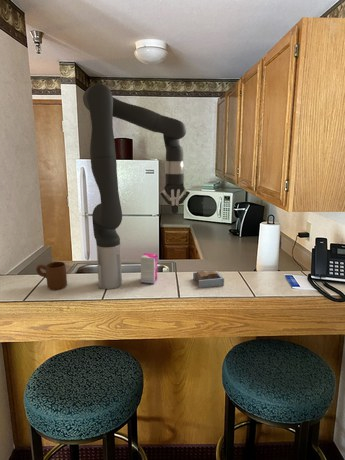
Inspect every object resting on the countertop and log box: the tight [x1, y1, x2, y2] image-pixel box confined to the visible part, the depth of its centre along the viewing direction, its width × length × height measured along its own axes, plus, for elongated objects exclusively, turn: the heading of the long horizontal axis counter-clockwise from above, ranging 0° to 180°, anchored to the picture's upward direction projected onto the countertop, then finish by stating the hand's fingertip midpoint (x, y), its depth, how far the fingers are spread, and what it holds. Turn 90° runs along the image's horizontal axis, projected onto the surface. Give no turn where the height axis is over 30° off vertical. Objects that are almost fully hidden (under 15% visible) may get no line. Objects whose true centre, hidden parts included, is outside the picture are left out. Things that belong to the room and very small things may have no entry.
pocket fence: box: [192, 270, 225, 289], centre depth 137 cm, size 10×9×3 cm
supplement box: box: [140, 252, 158, 285], centre depth 137 cm, size 6×6×12 cm
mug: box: [35, 261, 68, 291], centre depth 132 cm, size 12×8×9 cm, turn 83°
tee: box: [196, 270, 218, 283], centre depth 137 cm, size 8×6×4 cm
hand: (174, 213), depth 139 cm, fingers closed
